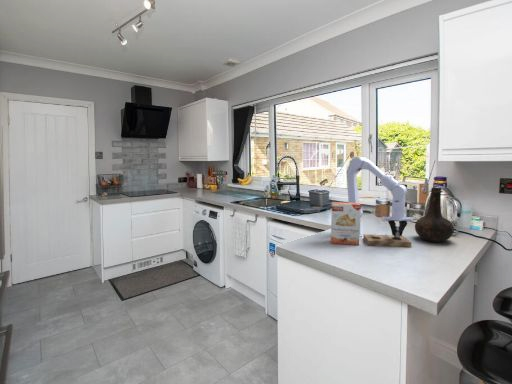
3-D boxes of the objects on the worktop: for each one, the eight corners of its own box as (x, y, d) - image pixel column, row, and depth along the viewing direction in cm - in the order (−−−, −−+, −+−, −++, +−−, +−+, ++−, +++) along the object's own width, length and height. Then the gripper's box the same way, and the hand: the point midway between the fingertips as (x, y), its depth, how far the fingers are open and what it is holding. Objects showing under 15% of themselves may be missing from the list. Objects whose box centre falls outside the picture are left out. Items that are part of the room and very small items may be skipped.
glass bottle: (433, 246, 143) (437, 190, 140) (406, 236, 160) (409, 186, 157) (461, 243, 148) (466, 188, 144) (432, 234, 165) (435, 185, 162)
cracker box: (330, 243, 148) (331, 203, 146) (330, 240, 154) (331, 201, 152) (359, 245, 145) (361, 204, 143) (358, 242, 151) (359, 202, 148)
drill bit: (394, 242, 147) (395, 226, 146) (392, 240, 150) (393, 225, 149) (400, 242, 147) (401, 227, 146) (398, 241, 150) (399, 225, 149)
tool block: (368, 245, 145) (368, 240, 145) (363, 238, 157) (363, 234, 156) (411, 247, 142) (411, 242, 142) (402, 240, 154) (403, 235, 153)
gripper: (385, 210, 144) (383, 236, 145) (416, 210, 141) (415, 237, 143) (381, 207, 150) (380, 233, 152) (411, 208, 148) (409, 234, 150)
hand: (396, 235), depth 148 cm, fingers closed on drill bit, 3 cm apart
